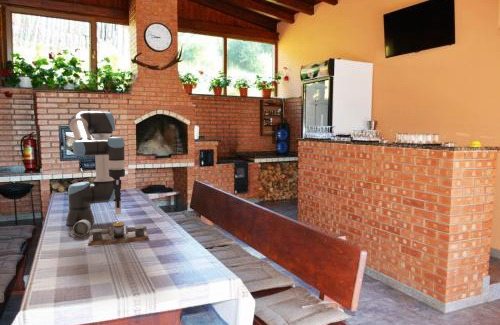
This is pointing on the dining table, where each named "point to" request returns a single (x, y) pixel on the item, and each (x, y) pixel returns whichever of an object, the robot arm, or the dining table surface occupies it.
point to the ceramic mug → (81, 228)
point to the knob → (118, 229)
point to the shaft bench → (109, 239)
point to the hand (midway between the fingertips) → (117, 210)
